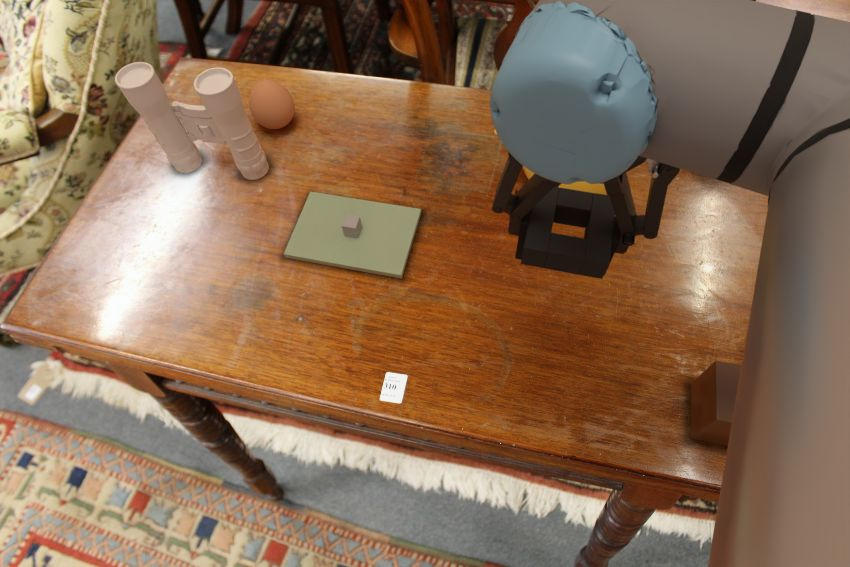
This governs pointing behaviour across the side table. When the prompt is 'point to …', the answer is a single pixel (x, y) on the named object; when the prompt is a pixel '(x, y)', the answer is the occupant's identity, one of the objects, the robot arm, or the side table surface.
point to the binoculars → (195, 118)
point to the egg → (271, 104)
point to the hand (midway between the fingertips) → (561, 256)
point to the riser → (714, 403)
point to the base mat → (354, 234)
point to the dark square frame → (567, 250)
